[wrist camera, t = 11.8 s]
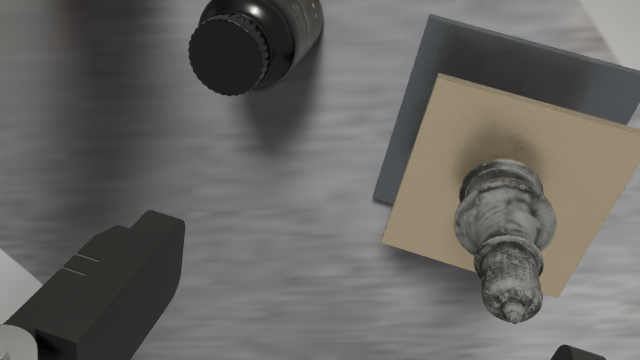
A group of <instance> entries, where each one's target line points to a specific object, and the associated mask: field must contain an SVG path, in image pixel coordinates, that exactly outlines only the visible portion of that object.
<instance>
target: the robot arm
mask: <svg viewBox="0 0 640 360" xmlns="http://www.w3.org/2000/svg"><path fill="white" fill-rule="evenodd" d="M184 235H185V223H184V221H183V220H181V219H177V218H174V217H171V216H168V215H165V214H162V213H159V212H156V211H153V210H149V211H147V212H145V213H144V214H143V215H142V216H141V218H140V219H139V220H138V221H137V222H136V223H135V224H134V225H133V226H132V227H131V228H130V229H129V228H125V227H122V226H119V225H117V226H115V227H113V228H110V229H108V230H106V231H104V232H102V233H100V234H98V235H95V236H94V237H93V238H92V239H91V240H90V241H89V242H88V243H87V244H86V245H85V246H84V247H83V248H81V249H80V250H79V251H78V253H77V255H76V256H73V257H72V258H71V259H70V260H69V261H68V262H67V263H66V264H65V265H64V267H63V269H60V270H59V271H58V272H57V273H56V274H55V275H54V276H53V277H52V278H51V279H49V280H48V281H47V282H46V283H45V284H44V285H43V286H42V287H41V288H40V289H39V290H38V291H37V292H36V293H35V294H34V295H33V296H32V297H31V298H30V299H29V300H28V301H27V302H26V303H25V304H24V305H23V306H22V307H21V308H20V309H19V310H17V311H16V312H15V314H13V315H12V316H11V317H10V318H9V319H8V320H7V321H6V322H5V323H4V324H2V325H1V324H0V360H130V359H131V358H132V356H133V355H134V353H135V352H136V351H137V349H138V348H139V346H140V345H141V343H142V342H143V340H144V339H145V338H146V336H147V335H148V333H149V332H150V330H151V329H152V327H153V326H154V325H155V323H156V322H157V320H158V319H159V317H160V316H161V314H162V313H163V312H164V310H165V309H166V307H167V306H168V304H169V303H170V301H171V300H172V298H173V296H174V294H175V292H176V289H177V287H178V284H179V280H180V276H181V267H182V256H183V246H184ZM551 360H606V359H605V358H604V357H602V356H600V355H596V354H593V353H590V352H587V351H584V350H581V349H578V348H575V347H572V346H568V345H562V346H560V347H559V348H558V349H557V351H556V352H555V354H554V355H553V357H552V358H551Z"/></svg>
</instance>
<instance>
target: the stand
mask: <svg viewBox="0 0 640 360" xmlns="http://www.w3.org/2000/svg"><path fill="white" fill-rule="evenodd" d="M639 103H640V71H638V70H635V69H631V68H627V67H623V66H620V65H616V64H612V63H609V62H605V61H601V60H598V59H594V58H590V57H587V56H583V55H579V54H576V53H572V52H568V51H564V50H561V49H557V48H553V47H550V46H546V45H542V44H539V43H535V42H531V41H528V40H524V39H520V38H517V37H513V36H509V35H505V34H502V33H498V32H494V31H491V30H487V29H483V28H480V27H476V26H472V25H469V24H465V23H461V22H458V21H454V20H450V19H446V18H443V17H439V16H435V15H432V14H430V15H429V18H428V21H427V24H426V28H425V31H424V34H423V37H422V40H421V44H420V47H419V50H418V53H417V56H416V60H415V63H414V66H413V69H412V72H411V76H410V79H409V82H408V85H407V88H406V92H405V95H404V98H403V101H402V104H401V108H400V111H399V114H398V117H397V120H396V124H395V127H394V130H393V133H392V136H391V140H390V143H389V146H388V149H387V152H386V156H385V159H384V162H383V165H382V168H381V172H380V175H379V178H378V181H377V184H376V188H375V191H374V194H373V198H374V199H377V200H381V201H384V202H387V203H390V204H393V207H392V210H391V213H390V216H389V219H388V222H387V225H386V228H385V231H384V234H383V238H382V242H381V243H384V244H387V245H390V246H394V247H397V248H400V249H403V250H406V251H409V252H413V253H416V254H419V255H422V256H425V257H429V258H432V259H435V260H438V261H441V262H444V263H448V264H451V265H454V266H457V267H460V268H464V269H467V270H470V271H473V272H476V271H475V267H474V255H472V254H470V253H469V252H468V251H467V250H466V249H465V248H464V247H463V246H462V245H461V244H460V242H459V240H458V239H457V237H456V234H455V230H454V215H455V212H456V210H457V208H458V205H459V204H460V199H459V193H460V187H461V184H462V182H463V179H464V178H465V177H466V176H467V174H468V173H469V172H470V171H471V170H473V169H474V168H475V167H477V166H478V165H480V164H483V163H485V162H488V161H493V160H498V159H502V160H513V161H516V162H520V163H522V164H524V165H526V166H527V167H529V168H531V169H532V170H533V171H534V172H535V173H536V174H537V175H538V177H539V179H540V181H541V183H542V185H543V191H544V196H545V197H546V198H547V199H548V200H549V201H550V203H551V205H552V207H553V209H554V211H555V215H556V221H557V225H556V231H555V235H554V237H553V239H552V240H551V242H550V244H549V245H548V246H547V247H546V248H545V249H544V250H543V251H542V252H541V253H542V255H543V260H544V268H543V272H542V273H541V275H540V277H539V280H540V286H541V291H542V293H543V294H546V295H550V296H553V297H556V298H558V297H559V295H560V294H561V292H562V290H563V289H564V287H565V285H566V284H567V282H568V280H569V279H570V277H571V275H572V274H573V272H574V270H575V269H576V267H577V266H578V264H579V262H580V261H581V259H582V257H583V256H584V254H585V252H586V251H587V249H588V247H589V246H590V244H591V242H592V241H593V239H594V237H595V236H596V234H597V232H598V231H599V229H600V228H601V226H602V224H603V223H604V221H605V219H606V218H607V216H608V214H609V213H610V211H611V209H612V208H613V206H614V204H615V203H616V201H617V199H618V198H619V196H620V194H621V193H622V191H623V189H624V188H625V186H626V185H627V183H628V181H629V180H630V178H631V176H632V175H633V173H634V171H635V170H636V168H637V166H638V165H639V163H640V129H637V128H633V127H630V126H627V124H628V122H629V120H630V119H631V117H632V115H633V113H634V111H635V110H636V108H637V106H638V104H639ZM476 273H477V272H476Z"/></svg>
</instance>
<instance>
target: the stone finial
mask: <svg viewBox="0 0 640 360" xmlns="http://www.w3.org/2000/svg"><path fill="white" fill-rule="evenodd" d="M459 199H460V204H459V205H458V208H457V210H456V212H455V215H454V230H455V234H456V237H457V239H458V240H459V242H460V244H461V245H462V246H463V247H464V248H465V249H466V250H467V251H468V252H469V253H470V254H472V255H474V267H475V271H476V272H477V274H478V276H479V277H480V278H481V281H482V298H483V302H484V304H485V306H486V308H487V310H488V311H489V312H490V313H491V314H492V315H494V316H495V317H497V318H499V319H501V320H504V321H507V322H511V323H513V324H517V323H518V322H522V321H526V320H528V319H530V318H532V317H533V316H534V315H536V314H537V313H538V312H539V310H540V308H541V305H542V299H543V296H542V291H541V286H540V280H539V277H540V275H541V273H542V272H543V268H544V260H543V255H542V253H541V252H542V251H543V250H544V249H545V248H546V247H547V246H548V245H549V244H550V242H551V240H552V239H553V237H554V235H555V231H556V225H557V221H556V215H555V211H554V209H553V207H552V205H551V203H550V201H549V200H548V199H547V198H546V197H545V196H544V191H543V185H542V183H541V181H540V179H539V177H538V175H537V174H536V173H535V172H534V171H533V170H532V169H531V168H529V167H527V166H526V165H524V164H522V163H520V162H516V161H513V160H502V159H498V160H493V161H488V162H485V163H483V164H480V165H478V166H477V167H475V168H474V169H473V170H471V171H470V172H469V173H468V174H467V176H466V177H465V178H464V179H463V182H462V184H461V187H460V193H459Z"/></svg>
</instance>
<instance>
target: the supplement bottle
mask: <svg viewBox="0 0 640 360" xmlns="http://www.w3.org/2000/svg"><path fill="white" fill-rule="evenodd" d="M322 23H323V14H322V8H321V4H320V1H319V0H211V1H210V2H209V3H208V4H207V6H206V7H205V9H204V10H203V12H202V14H201V17H200V20H199V24H198V28H196V29H195V32H194V33H193V34H192V35H191V40H190V42H189V46H190V47H189V49H188V51H189V59H190V65H191V66H192V68H193V72H194V73H195V74H196V75H197V78H198V79H199V80H200V81H201V82H202V83H203V85H206V86H207V87H208V88H209V89H210V90H213V91H214V92H215V93H220V94H221V95H228V96H232V95H235V96H237V95H239V94H244V93H245V92H260V91H264V90H267V89H270V88H272V87H274V86H276V85H277V84H279V83H280V82H281V81H282V80H283V79H284V78H285V77H286V76H287V75H288V74H289V73H290V72H291V71H292V70H293V69H294V67H295V66H296V65H297V64H298V63H299V62H300V61H301V60H302V59H303V57H304V56H305V55H306V54H307V53H308V52H309V51H310V50H311V48H312V47H313V46H314V45H315V43H316V41H317V40H318V38H319V35H320V33H321V29H322Z"/></svg>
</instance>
